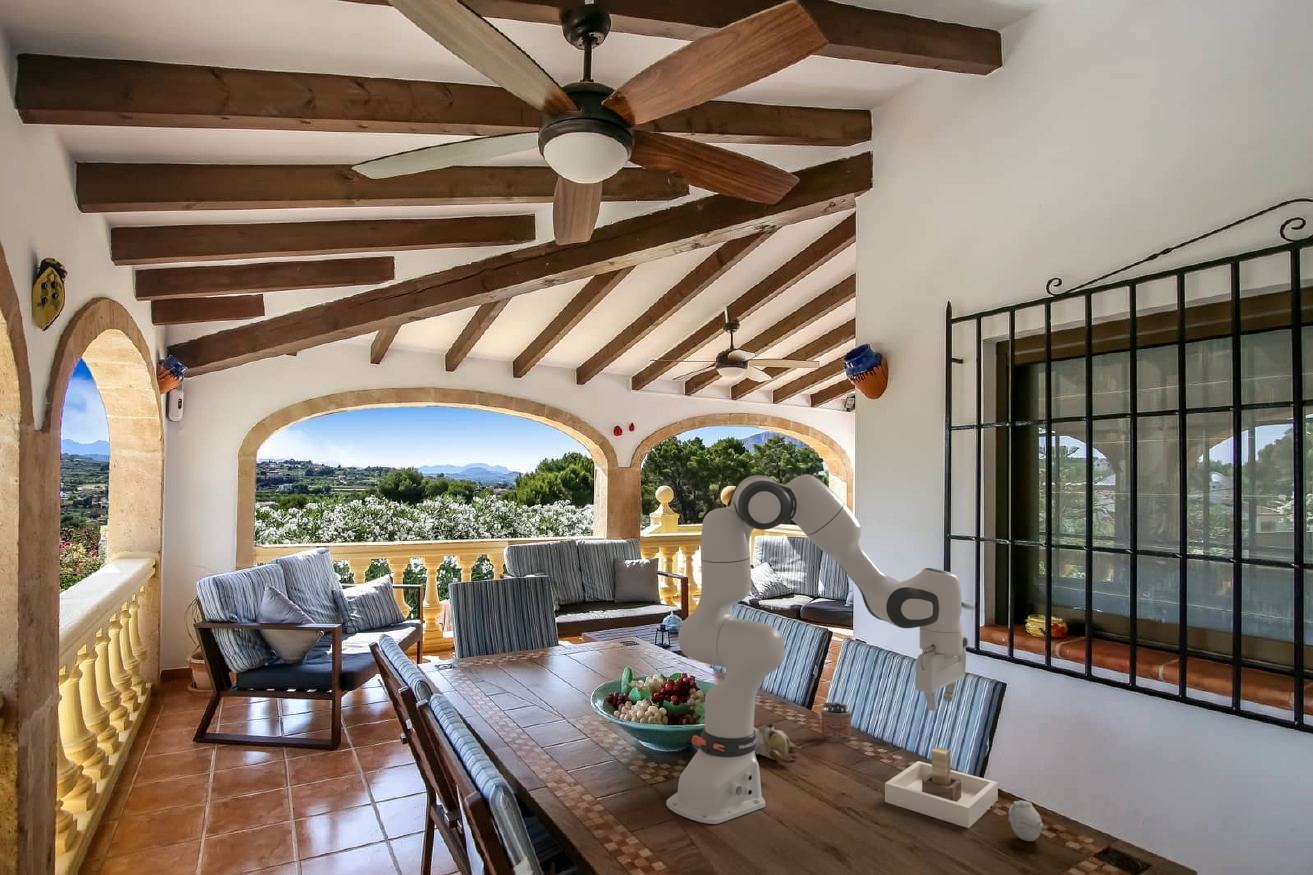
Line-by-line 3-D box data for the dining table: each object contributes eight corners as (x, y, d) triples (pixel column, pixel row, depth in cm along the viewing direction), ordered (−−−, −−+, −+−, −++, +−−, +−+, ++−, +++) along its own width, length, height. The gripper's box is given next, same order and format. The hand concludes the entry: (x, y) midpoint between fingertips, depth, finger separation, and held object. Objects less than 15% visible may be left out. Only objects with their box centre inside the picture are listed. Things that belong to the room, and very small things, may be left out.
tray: (968, 828, 152) (968, 805, 152) (885, 801, 164) (884, 780, 164) (997, 800, 165) (997, 779, 166) (918, 778, 177) (918, 758, 178)
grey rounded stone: (1031, 831, 151) (1030, 795, 152) (1050, 848, 144) (1050, 810, 145) (1001, 831, 151) (1001, 795, 152) (1019, 848, 144) (1019, 810, 145)
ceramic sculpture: (752, 712, 198) (807, 725, 191) (750, 745, 197) (805, 759, 191) (738, 724, 188) (796, 738, 181) (735, 759, 188) (794, 774, 181)
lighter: (850, 738, 204) (850, 701, 205) (852, 742, 201) (852, 705, 201) (820, 737, 205) (820, 700, 205) (821, 741, 202) (821, 703, 202)
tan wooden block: (945, 800, 163) (945, 753, 163) (932, 796, 165) (931, 750, 165) (950, 796, 165) (950, 750, 165) (937, 792, 167) (936, 747, 167)
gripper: (936, 651, 157) (936, 718, 156) (971, 637, 172) (971, 698, 171) (907, 646, 161) (907, 712, 160) (943, 633, 176) (943, 693, 175)
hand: (940, 705), depth 166 cm, fingers open, 8 cm apart
